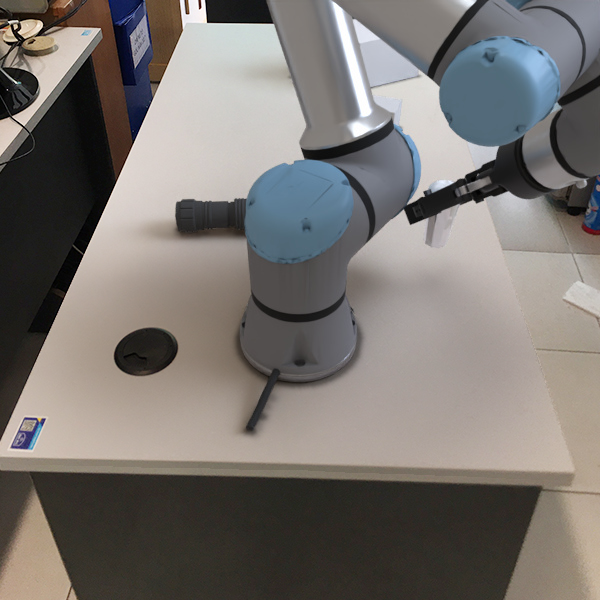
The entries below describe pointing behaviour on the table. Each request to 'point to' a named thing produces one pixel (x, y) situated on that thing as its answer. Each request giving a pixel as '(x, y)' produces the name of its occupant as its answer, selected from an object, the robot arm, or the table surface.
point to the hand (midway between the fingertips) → (423, 209)
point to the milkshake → (439, 221)
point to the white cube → (390, 106)
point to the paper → (381, 59)
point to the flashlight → (209, 214)
